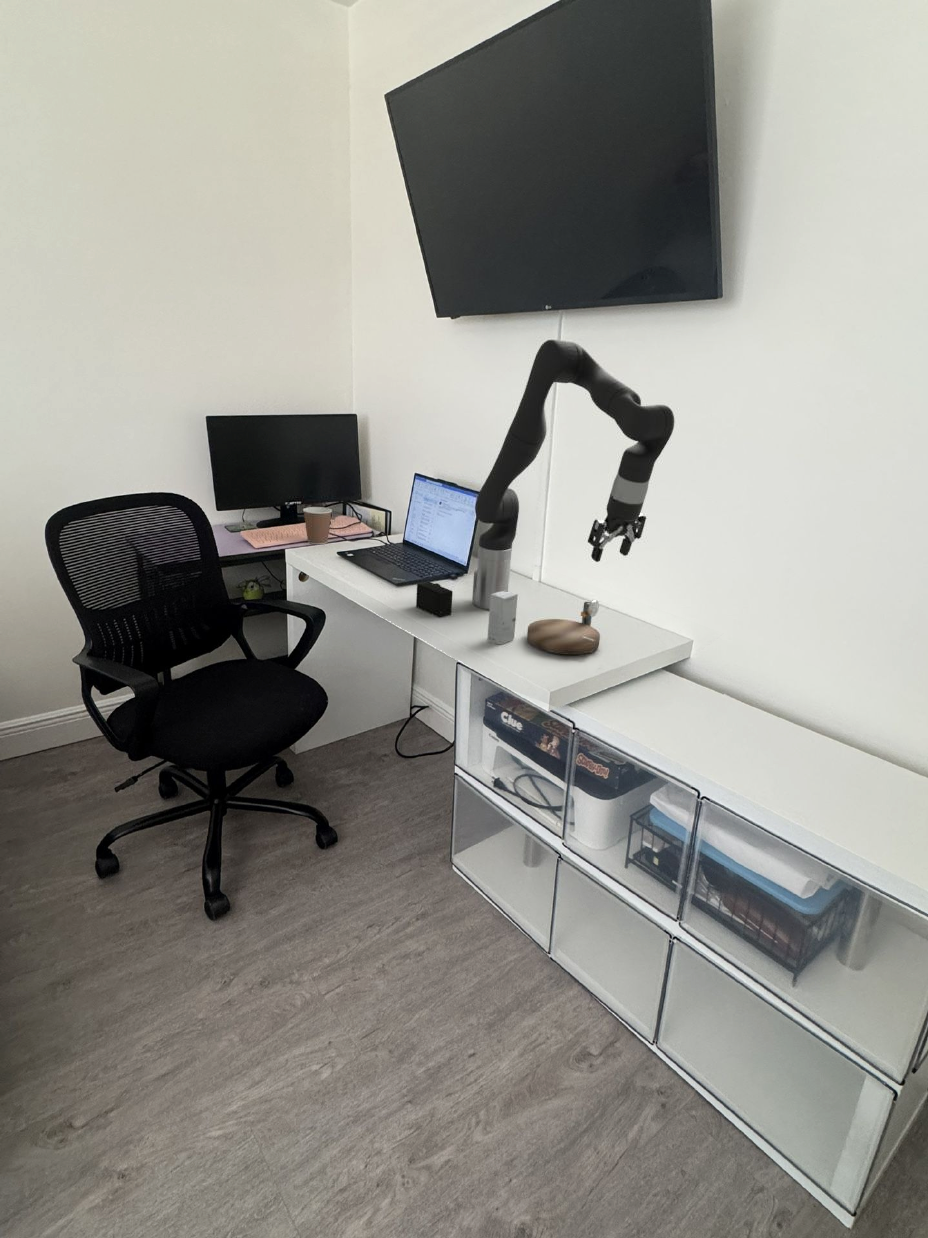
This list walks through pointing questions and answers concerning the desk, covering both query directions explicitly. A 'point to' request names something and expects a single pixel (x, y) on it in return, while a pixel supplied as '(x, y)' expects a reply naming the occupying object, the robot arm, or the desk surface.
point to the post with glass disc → (589, 611)
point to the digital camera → (434, 599)
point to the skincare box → (502, 617)
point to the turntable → (563, 636)
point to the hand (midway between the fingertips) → (609, 557)
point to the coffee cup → (317, 524)
